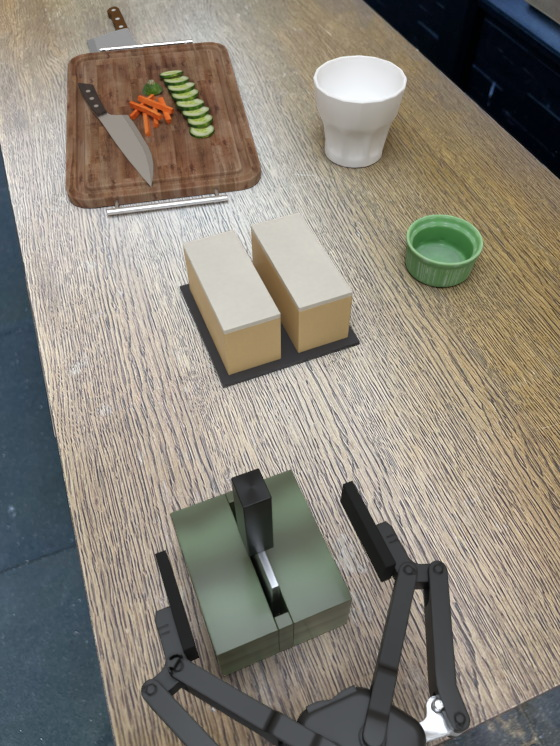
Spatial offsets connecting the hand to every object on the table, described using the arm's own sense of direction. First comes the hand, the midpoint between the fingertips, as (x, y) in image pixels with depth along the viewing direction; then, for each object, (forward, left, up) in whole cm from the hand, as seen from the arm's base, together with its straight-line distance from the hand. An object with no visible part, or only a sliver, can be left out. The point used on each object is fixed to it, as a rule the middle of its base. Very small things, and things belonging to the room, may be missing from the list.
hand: (257, 523), depth 45 cm
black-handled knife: (-1, 0, -13) cm, 13 cm away
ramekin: (-16, +42, -13) cm, 47 cm away
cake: (-24, +21, -13) cm, 34 cm away
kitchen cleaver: (-92, +45, -13) cm, 103 cm away
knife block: (-1, 0, -13) cm, 13 cm away
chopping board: (-66, +36, -13) cm, 76 cm away
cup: (-40, +52, -13) cm, 67 cm away
